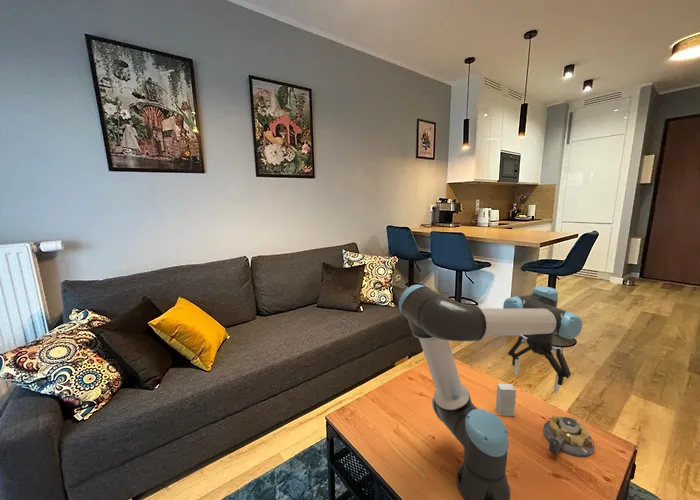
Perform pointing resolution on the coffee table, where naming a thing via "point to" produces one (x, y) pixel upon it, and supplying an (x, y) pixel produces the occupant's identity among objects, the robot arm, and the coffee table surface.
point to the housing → (572, 430)
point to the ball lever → (565, 435)
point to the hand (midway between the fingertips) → (535, 382)
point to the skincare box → (505, 399)
